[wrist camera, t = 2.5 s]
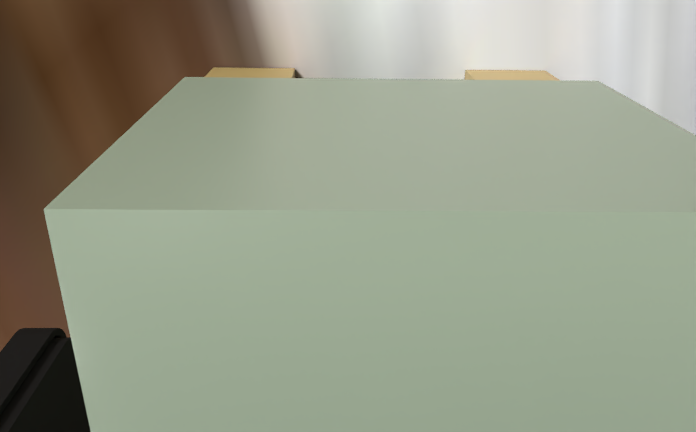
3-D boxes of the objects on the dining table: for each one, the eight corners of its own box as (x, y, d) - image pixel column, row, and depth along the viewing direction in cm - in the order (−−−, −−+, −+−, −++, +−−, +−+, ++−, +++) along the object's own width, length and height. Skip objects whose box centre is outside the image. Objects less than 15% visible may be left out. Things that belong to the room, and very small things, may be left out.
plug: (211, 46, 12) (31, 209, 5) (548, 50, 12) (847, 213, 5) (238, 388, 15) (155, 771, 8) (499, 388, 16) (634, 765, 9)
